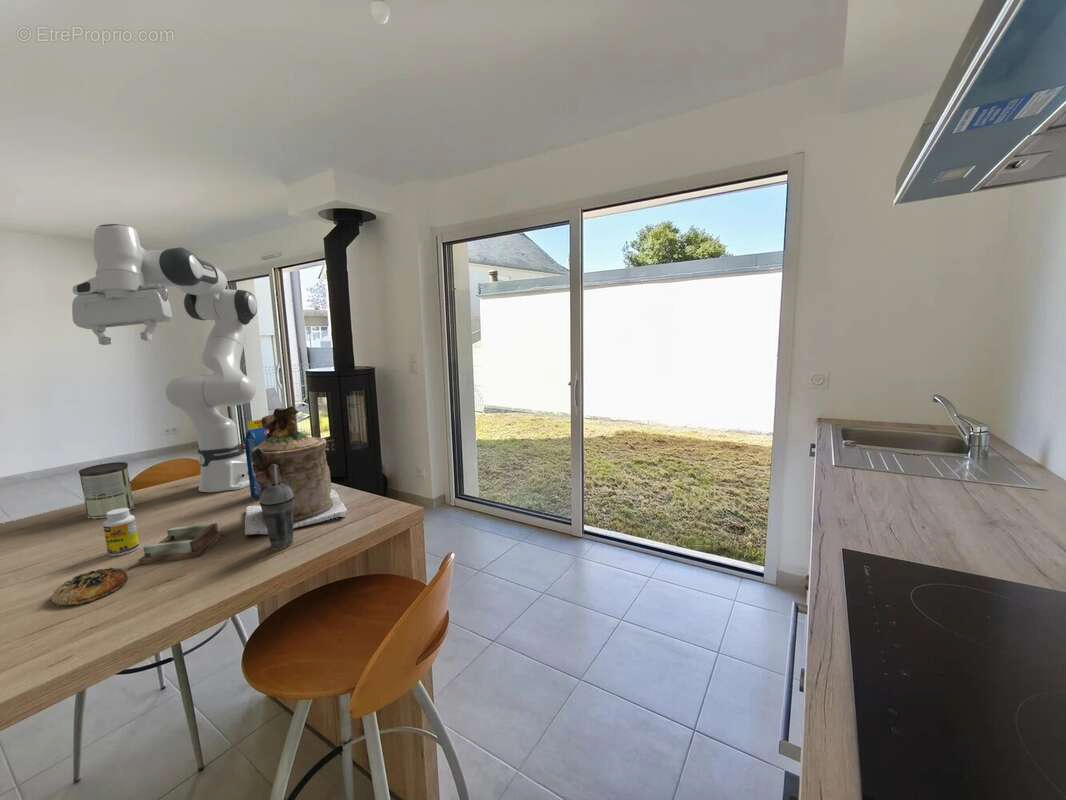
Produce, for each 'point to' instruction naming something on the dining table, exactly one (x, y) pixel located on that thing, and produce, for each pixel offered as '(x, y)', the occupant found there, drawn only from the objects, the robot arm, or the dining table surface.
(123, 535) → the supplement bottle
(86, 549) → the dining table surface
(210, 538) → the clip cradle
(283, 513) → the beverage cup
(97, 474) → the coffee can
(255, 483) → the blue food package
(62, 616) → the dining table surface
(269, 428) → the cookie jar
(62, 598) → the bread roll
